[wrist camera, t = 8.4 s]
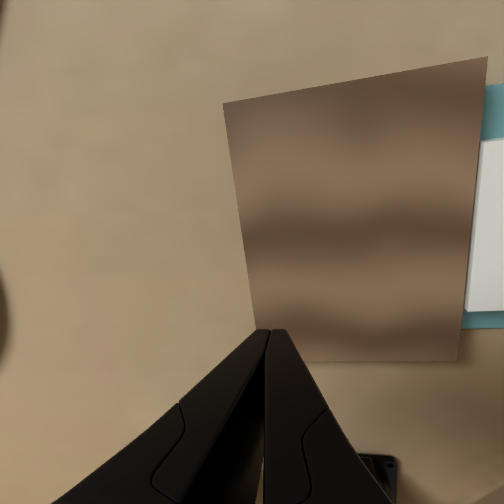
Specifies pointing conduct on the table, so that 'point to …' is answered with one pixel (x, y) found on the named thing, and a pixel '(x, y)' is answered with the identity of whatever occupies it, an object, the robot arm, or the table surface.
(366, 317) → the brown flat block
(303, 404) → the robot arm
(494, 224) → the white panel with tab
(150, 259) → the table surface
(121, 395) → the table surface
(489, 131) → the mat
